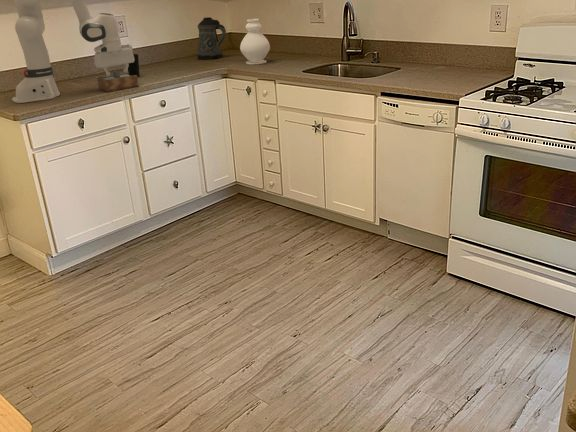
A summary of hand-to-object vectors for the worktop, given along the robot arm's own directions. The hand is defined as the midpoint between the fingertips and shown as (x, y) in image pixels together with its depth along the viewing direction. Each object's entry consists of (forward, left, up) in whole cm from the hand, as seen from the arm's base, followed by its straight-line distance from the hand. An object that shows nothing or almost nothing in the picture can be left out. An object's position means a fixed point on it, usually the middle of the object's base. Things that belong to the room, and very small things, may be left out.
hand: (117, 74), depth 305 cm
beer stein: (+84, +44, -7) cm, 95 cm away
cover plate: (0, 0, -3) cm, 3 cm away
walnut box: (0, 0, -7) cm, 7 cm away
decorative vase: (+90, +3, -7) cm, 90 cm away
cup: (+20, +24, -7) cm, 32 cm away
